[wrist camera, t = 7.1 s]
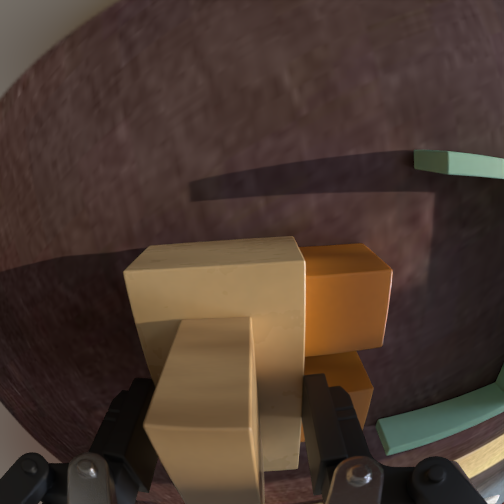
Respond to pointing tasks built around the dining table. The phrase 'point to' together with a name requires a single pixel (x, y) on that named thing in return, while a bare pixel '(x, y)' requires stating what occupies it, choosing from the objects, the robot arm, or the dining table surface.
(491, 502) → the plate
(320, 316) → the crumb
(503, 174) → the green u-shaped pusher
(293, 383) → the stepped wooden block
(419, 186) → the dining table surface
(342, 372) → the crumb
